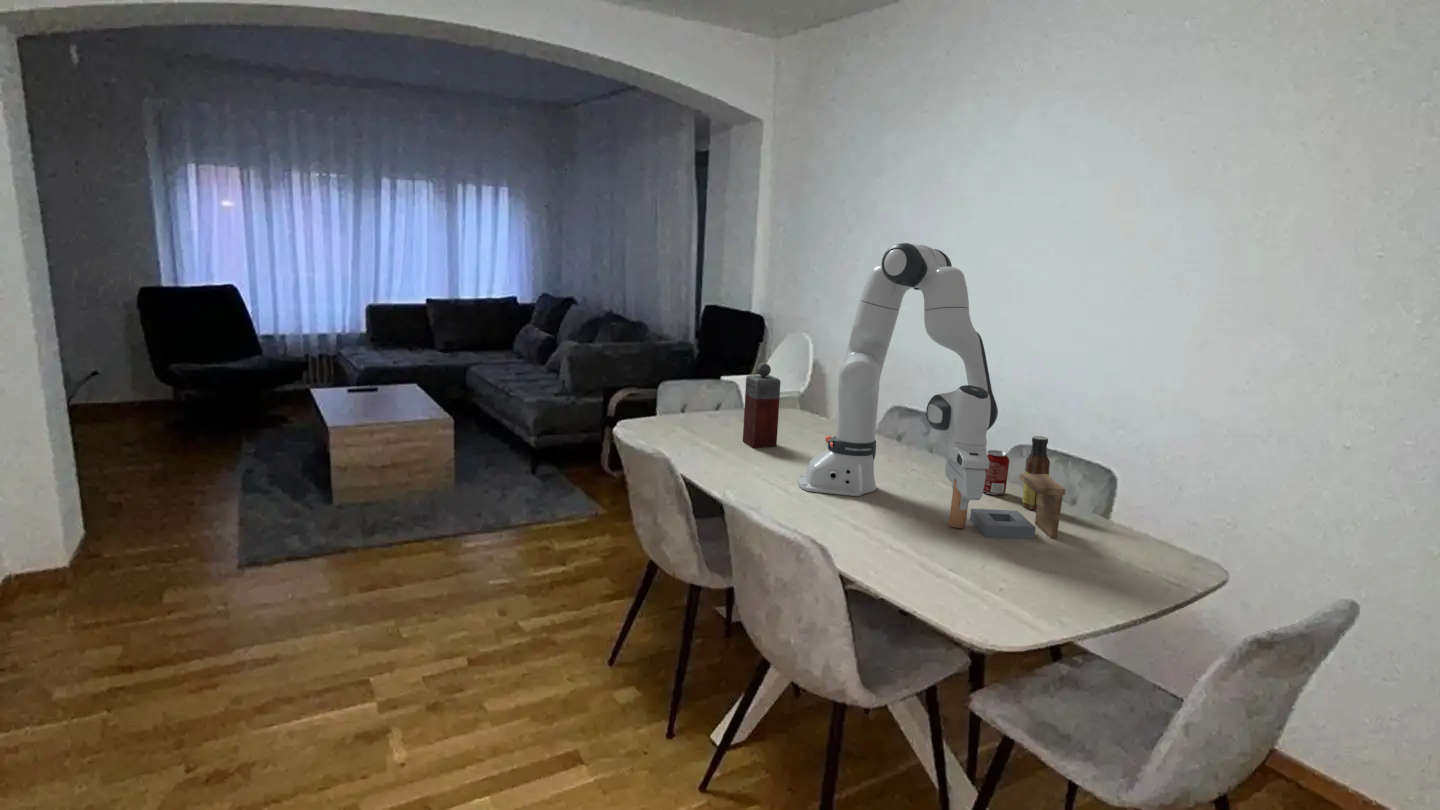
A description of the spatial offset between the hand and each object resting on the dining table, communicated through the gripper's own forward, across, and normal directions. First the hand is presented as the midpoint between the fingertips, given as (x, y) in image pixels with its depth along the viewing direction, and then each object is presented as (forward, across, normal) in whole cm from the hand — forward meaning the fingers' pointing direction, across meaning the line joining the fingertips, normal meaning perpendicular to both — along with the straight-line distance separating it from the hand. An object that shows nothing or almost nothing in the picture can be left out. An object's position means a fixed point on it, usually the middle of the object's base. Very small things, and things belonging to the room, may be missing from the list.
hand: (959, 505), depth 197 cm
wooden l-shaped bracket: (+6, 0, +20) cm, 21 cm away
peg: (+5, 0, 0) cm, 5 cm away
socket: (+6, 0, +11) cm, 12 cm away
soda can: (+6, -30, +19) cm, 36 cm away
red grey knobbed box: (+7, -73, -48) cm, 88 cm away
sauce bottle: (+6, -18, +26) cm, 32 cm away
